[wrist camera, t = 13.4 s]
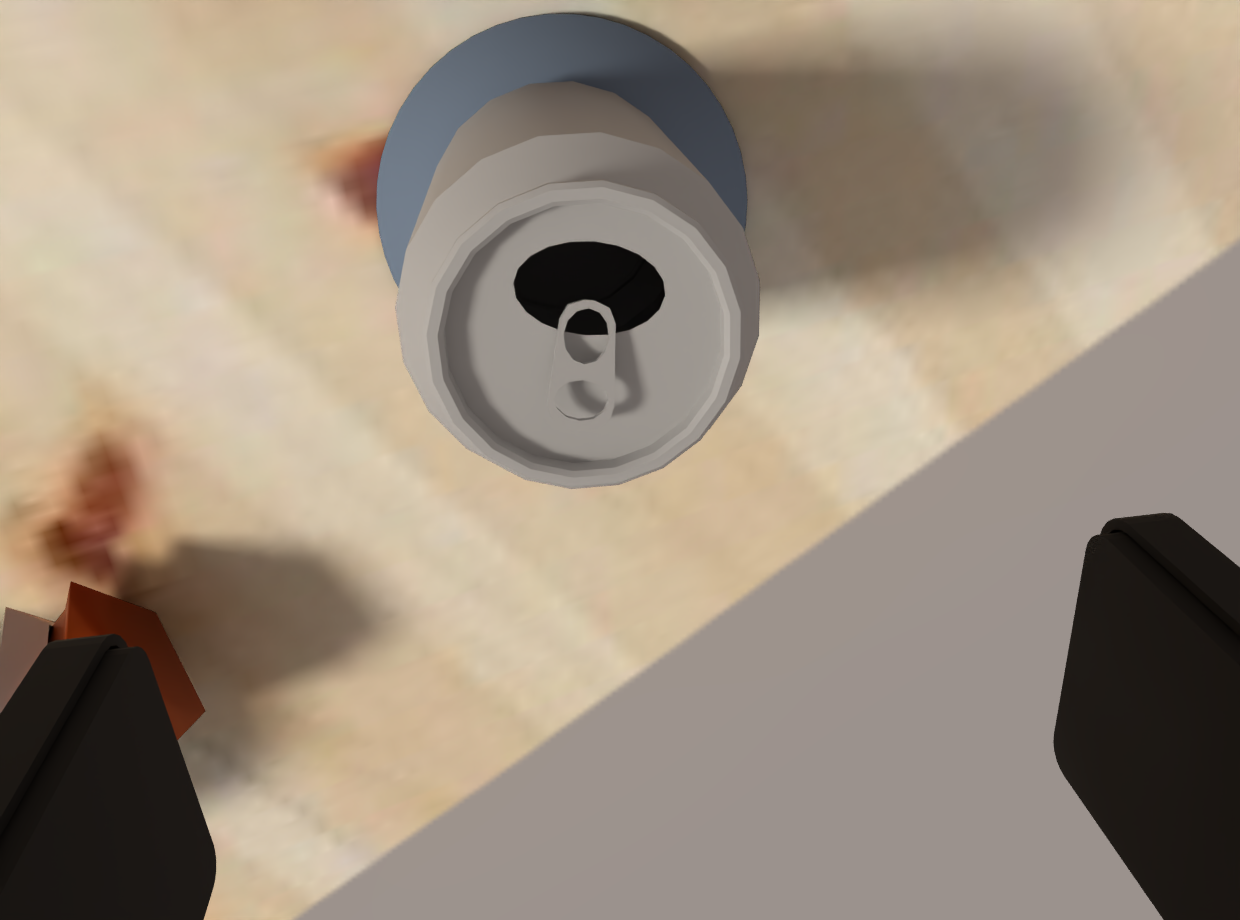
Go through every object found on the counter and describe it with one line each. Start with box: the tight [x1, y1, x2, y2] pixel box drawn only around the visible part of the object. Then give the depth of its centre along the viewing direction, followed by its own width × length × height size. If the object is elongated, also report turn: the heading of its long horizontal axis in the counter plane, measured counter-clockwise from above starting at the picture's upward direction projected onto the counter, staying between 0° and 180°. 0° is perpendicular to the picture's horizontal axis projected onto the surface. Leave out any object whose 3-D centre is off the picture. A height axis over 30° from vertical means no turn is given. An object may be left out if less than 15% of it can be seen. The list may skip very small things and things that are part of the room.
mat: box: [377, 14, 747, 288], centre depth 30 cm, size 11×11×1 cm
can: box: [395, 81, 760, 489], centre depth 24 cm, size 8×8×12 cm
